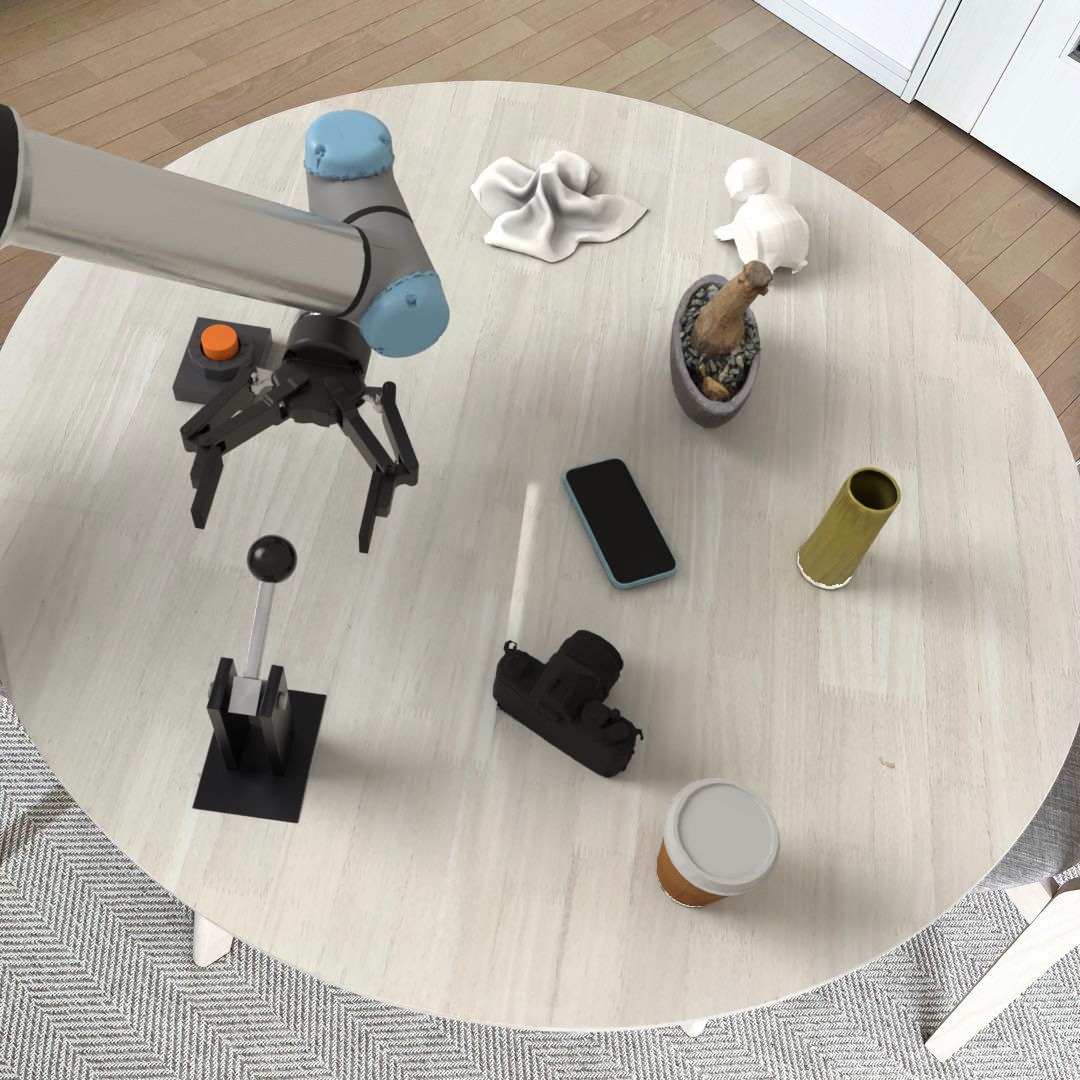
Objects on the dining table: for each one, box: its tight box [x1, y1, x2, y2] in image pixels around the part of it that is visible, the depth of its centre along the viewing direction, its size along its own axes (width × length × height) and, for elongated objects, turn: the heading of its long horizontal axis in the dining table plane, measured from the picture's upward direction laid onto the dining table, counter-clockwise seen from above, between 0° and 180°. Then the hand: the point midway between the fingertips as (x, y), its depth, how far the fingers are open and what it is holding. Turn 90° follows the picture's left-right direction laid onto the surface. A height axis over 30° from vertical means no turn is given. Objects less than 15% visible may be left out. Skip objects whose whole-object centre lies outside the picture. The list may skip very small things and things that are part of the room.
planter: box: [669, 260, 775, 430], centre depth 120 cm, size 15×17×20 cm
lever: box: [228, 534, 299, 716], centre depth 90 cm, size 14×4×4 cm, turn 173°
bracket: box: [191, 656, 327, 824], centre depth 94 cm, size 12×9×15 cm
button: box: [201, 324, 239, 361], centre depth 119 cm, size 4×4×2 cm
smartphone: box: [563, 457, 678, 590], centre depth 117 cm, size 7×1×15 cm
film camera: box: [492, 629, 645, 779], centre depth 103 cm, size 15×10×9 cm, turn 56°
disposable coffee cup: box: [656, 777, 781, 908], centre depth 95 cm, size 10×10×12 cm
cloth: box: [470, 149, 630, 263], centre depth 139 cm, size 22×19×6 cm
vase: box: [799, 466, 902, 586], centre depth 112 cm, size 6×6×14 cm
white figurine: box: [713, 157, 810, 276], centre depth 139 cm, size 9×8×15 cm
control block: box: [171, 316, 273, 412], centre depth 121 cm, size 8×10×4 cm
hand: (280, 533), depth 93 cm, fingers open, 13 cm apart
